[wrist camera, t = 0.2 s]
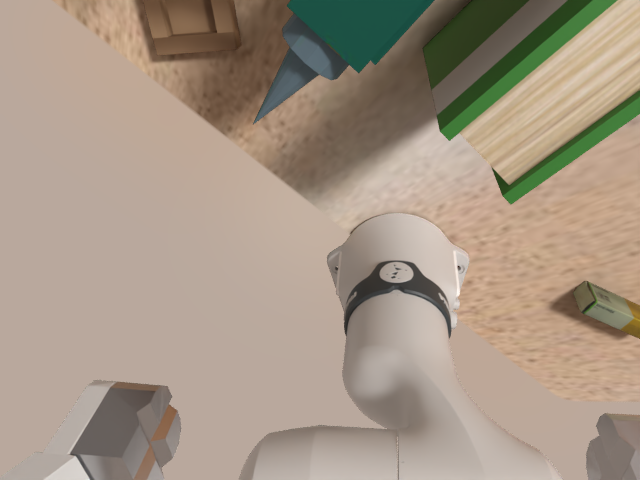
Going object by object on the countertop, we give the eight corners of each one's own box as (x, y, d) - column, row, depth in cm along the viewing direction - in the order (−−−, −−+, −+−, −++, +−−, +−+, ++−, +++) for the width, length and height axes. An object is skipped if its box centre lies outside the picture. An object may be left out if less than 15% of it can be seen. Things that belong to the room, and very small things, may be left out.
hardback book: (468, 97, 53) (510, 204, 34) (422, 48, 51) (439, 131, 31) (623, -38, 45) (804, -3, 25) (577, -104, 43) (734, -122, 23)
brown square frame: (241, 45, 53) (236, 49, 52) (164, 51, 55) (157, 55, 53) (225, -50, 49) (218, -49, 47) (141, -41, 50) (132, -40, 48)
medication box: (570, 292, 66) (579, 312, 63) (584, 279, 65) (594, 299, 61) (643, 326, 68) (656, 347, 64) (659, 313, 66) (672, 335, 63)
